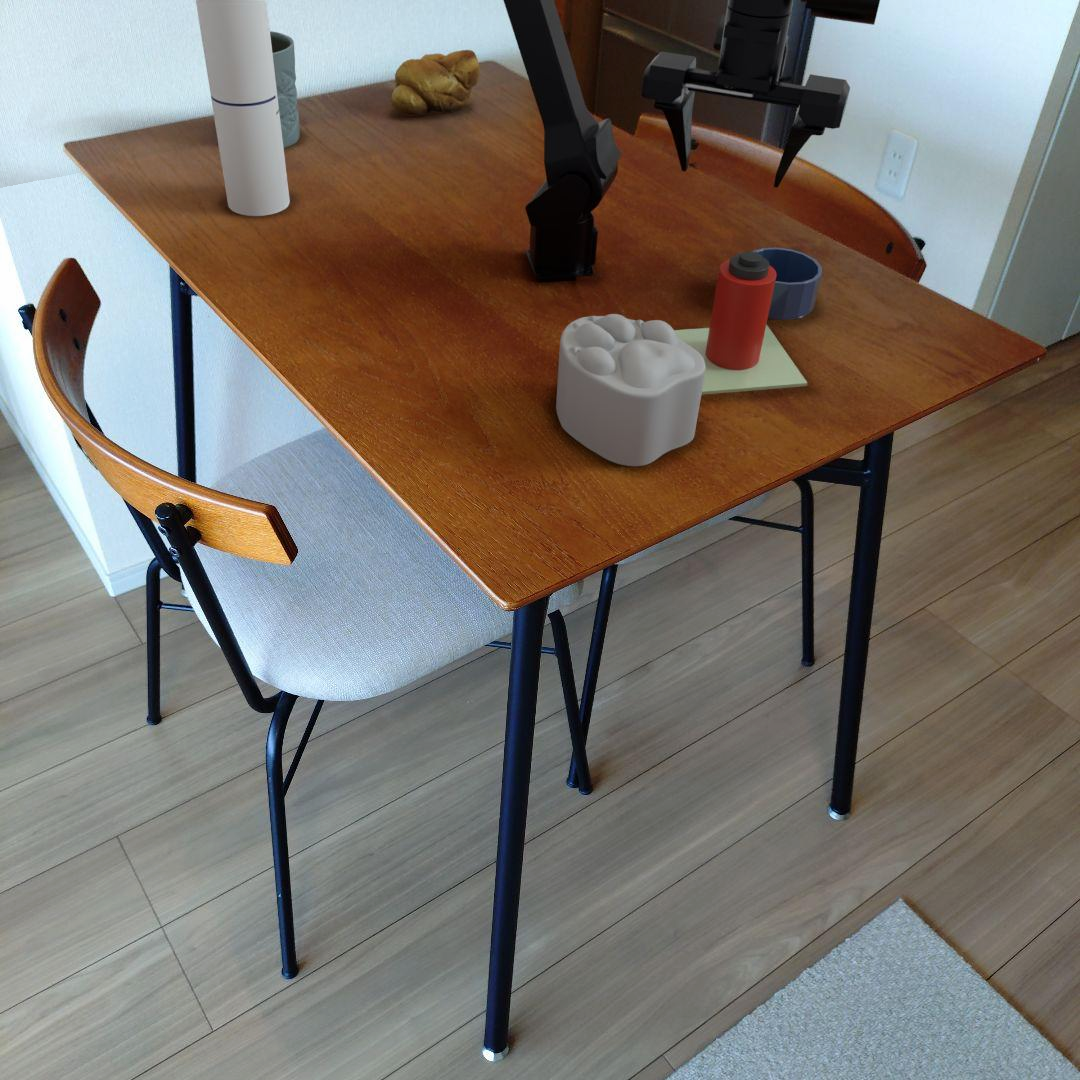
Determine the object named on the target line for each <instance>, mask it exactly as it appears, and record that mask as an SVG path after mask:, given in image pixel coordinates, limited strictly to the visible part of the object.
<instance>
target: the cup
mask: <svg viewBox="0 0 1080 1080" xmlns="http://www.w3.org/2000/svg"><path fill="white" fill-rule="evenodd" d="M751 251H752V252H756V253H758V254H760V255H761V256H762V257H764V258H765V259H766V260H768V262H769V265H770V266H771V267H773V268H774V270H775V271H776V280H775V285H774V290H773V295H772V299H771V304H770V309H769V314H768V319H772V320H779V321H780V320H781V321H782V320H783V321H787V320H788V321H789V320H797V319H800V318H804V317H806V316H808V315H809V314H810V313H812V311H813V310H814V309H815V306H816V302H817V298H818V297H817V296H818V292H819V288H820V284H821V280H822V276H823V267H822V265H821V264H820V263H819V262H818V261H817V259H815V258H814V257H811V255H808V254H807V253H804V252H802V251H798V250H794V249H791V248H783V247H761V248H759V249H755V250H751Z"/></svg>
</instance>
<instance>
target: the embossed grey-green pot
mask: <svg viewBox="0 0 1080 1080" xmlns="http://www.w3.org/2000/svg"><path fill="white" fill-rule="evenodd" d="M270 36H271V45H272V54H273V62H274V71H275V79H276V88H277V97H278V105H279V114H280V122H281V131H282V139H283V148H284V149H285V148H289V147H291V146H293V145H294V144H296V143H298V141H299V139H300V135H301V133H300V117H299V110H298V91H297V86H296V81H297V75H296V57H295V56H296V55H295V54H296V53H295V42H294V39H293V38H292V37H291V36H289V35H286V34H284V33H282V32H281V33H280V32H277V31H272V30H270Z"/></svg>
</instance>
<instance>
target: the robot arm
mask: <svg viewBox="0 0 1080 1080" xmlns="http://www.w3.org/2000/svg"><path fill="white" fill-rule="evenodd" d="M502 1H503V4H504V7H505V10H506V14H507V16H508V19H509V22H510V25H511V28H512V31H513V34H514V38H515V41H516V44H517V48H518V50H519V53H520V56H521V58H522V62H523V63H522V64H523V66H524V69H525V72H526V75H527V78H528V82H529V84H530V88H531V91H532V94H533V96H534V100H535V103H536V106H537V109H538V113H539V115H540V119H541V121H542V125H543V133H544V134H543V148H544V149H543V165H544V170H545V175H546V176H545V177H546V179H545V180H544V181H543V183H542V184H541V186H540V187H539V188H538V190H536V192H535V194H533V196H532V197H531V198H530V200H529V201H528V202H527V204H526V205H525V212H526V216H527V218H528V221H529V225H530V228H529V229H530V230H529V231H530V232H529V249H527V250H525V258H526V260H527V262H528V264H529V268H530V269H531V272H532V274H533V277H534V279H535V280H536V281H537V282H545V281H563V280H576V279H577V278H578V277H579V278H580V277H592V276H595V269H594V268H593V267H592V266H594V265H596V261H597V248H598V237H599V230H598V228H597V226H596V224H595V216H594V214H593V213H592V212H593V211H594V210H595V209H596V208H597V207H598V206H599V205H600V203H601V201H602V200H603V199H604V197H605V195H606V194H607V192H608V190H609V189H610V188H611V186H612V184H613V183H614V181H615V179H616V177H617V174H618V170H619V163H618V161H619V160H620V158H621V157H622V155H623V154H622V151H621V150H620V149H619V148H618V146H617V143H616V140H615V137H614V130H613V123H612V121H611V118H609V117H608V118H606V119H605V118H604V119H603V120H602V121H599V122H598V121H597V120H596V118H595V117H594V115H593V114H592V113H591V112H590V111H589V110H588V108H587V105H586V103H585V100H584V96H583V93H582V89H581V86H580V83H579V80H578V76H577V72H576V70H575V67H574V63H573V60H572V56H571V53H570V50H569V46H568V43H567V40H566V36H565V33H564V30H563V26H562V23H561V20H560V16H559V13H558V9H557V6H556V3H555V0H502ZM880 2H881V0H800V3H805V9H806V10H810V17H813V18H821V19H829V20H836V21H843V22H851V23H858V24H863V25H873V26H874V25H875V23H876V19H877V14H878V11H879V6H880ZM793 5H794V0H727V5H726V11H725V12H726V13H724V14H723V13H720V15H719V19H718V21H717V26H716V30H715V34H714V39H713V49H714V50H715V51H716V52H719V58H718V64H717V70H716V71H710V70H704V69H698V68H697V57H696V56H693V55H687V54H680V53H673V52H667V51H660V52H659V53H658V54H657V55H656V56H654V58H653V59H652V60H651V62H650V63H649V64H648V65H647V66H646V68H645V69H644V73H643V75H642V84H641V91H640V96H641V97H642V98H644V99H647V100H653V108H654V109H656V110H660V111H662V112H663V115H664V118H665V120H666V122H667V125H668V127H669V129H670V132H671V135H672V138H673V141H674V145H675V146H674V147H675V150H676V153H677V157H678V161H679V165H680V169H681V171H682V172H687V171H688V168H689V163H690V158H691V150H692V149H691V148H692V146H691V145H692V125H693V107H694V101H695V95H696V93H701V94H708V95H715V96H721V97H727V98H734V99H739V100H746V101H752V102H759V103H766V104H772V105H777V106H784V107H789V108H797V113H796V116H795V118H794V121H793V123H792V125H791V129H790V132H789V133H788V137H787V141H786V143H785V146H784V149H783V152H782V154H781V158H780V161H779V164H778V167H777V169H776V173H775V176H774V182H773V188H776V189H778V188H779V186H780V185H781V183H782V181H783V179H784V178H785V176H786V174H787V171H788V170H789V169H790V167H791V165H792V163H793V161H794V159H795V158H796V156H797V155H798V154H799V152H800V151H801V150H802V148H803V147H804V146H805V144H806V143H807V142H808V140H810V138H811V137H812V136H819V137H820V136H823V135H824V134H825V131H826V129H830V130H831V129H832V130H835V129H840V128H841V124H842V122H843V118H844V115H845V111H846V108H847V103H848V99H849V96H850V90H851V87H850V85H849V83H848V81H847V79H843V78H836V77H830V76H825V75H824V76H823V75H817V74H809V76H808V78H807V81H806V83H805V85H800V84H793V83H789V82H788V83H787V82H781V81H779V79H780V78H782V76H783V74H784V70H785V65H786V61H787V55H788V50H789V45H788V42H789V37H790V36H789V35H788V31H789V28H790V27H789V26H790V20H791V16H792V10H793Z"/></svg>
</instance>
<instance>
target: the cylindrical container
mask: <svg viewBox="0 0 1080 1080" xmlns="http://www.w3.org/2000/svg"><path fill="white" fill-rule="evenodd" d="M267 3H268V1H267V0H195V4H196V10H197V11H196V12H197V17H198V25H199V31H200V37H201V43H202V48H203V55H204V61H205V69H206V74H207V81H208V86H209V92H210V99H211V105H212V112H213V119H214V124H215V132H216V138H217V143H218V151H219V157H220V164H221V169H222V177H223V182H224V183H223V184H224V189H225V195H226V201H227V207H228V209H230V211H232V212H233V213H236V214H238V215H242V216H248V217H264V216H270V215H275V214H278V213H280V212H282V211H284V210H286V209H287V208H288V207H289V206H290V203H291V199H290V191H289V183H288V175H287V173H288V172H287V165H286V158H285V148H283V139H282V131H281V122H280V114H279V105H278V97H277V88H276V79H275V71H274V62H273V54H272V45H271V36H270V31H271V29H270V20H269V11H268V4H267Z"/></svg>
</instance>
